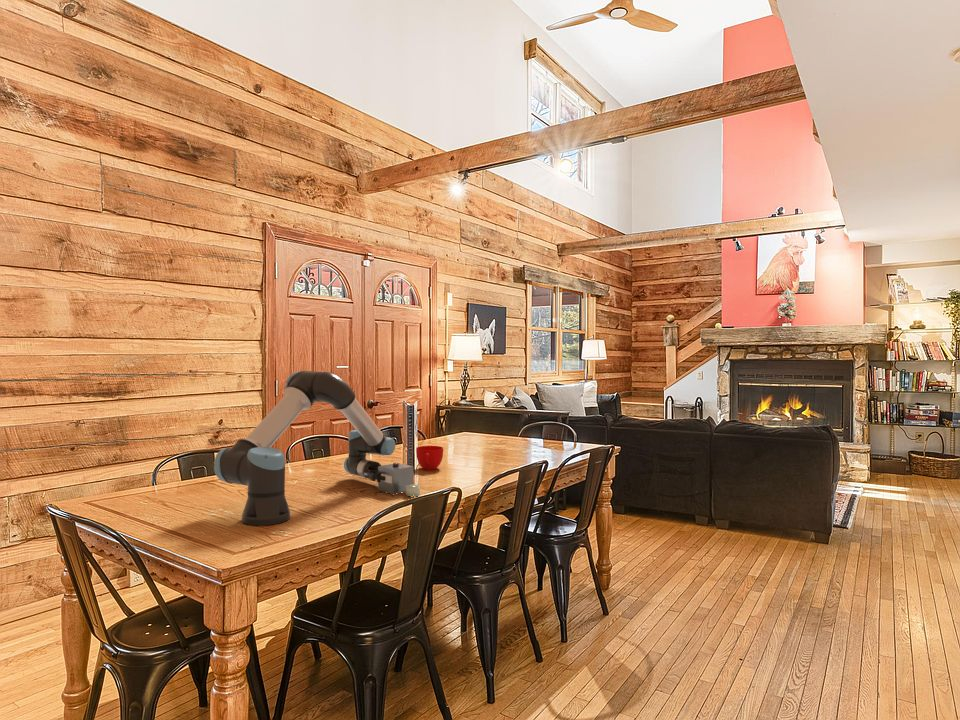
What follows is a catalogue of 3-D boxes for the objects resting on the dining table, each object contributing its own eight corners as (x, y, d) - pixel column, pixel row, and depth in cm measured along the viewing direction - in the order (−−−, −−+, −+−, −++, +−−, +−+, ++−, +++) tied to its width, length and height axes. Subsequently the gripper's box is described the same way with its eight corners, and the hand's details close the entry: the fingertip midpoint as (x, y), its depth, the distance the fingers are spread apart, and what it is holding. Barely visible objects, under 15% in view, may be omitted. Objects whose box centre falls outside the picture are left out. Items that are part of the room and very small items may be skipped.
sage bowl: (421, 497, 235) (421, 486, 234) (408, 498, 232) (408, 488, 232) (417, 493, 240) (417, 483, 240) (403, 495, 237) (403, 485, 237)
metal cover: (413, 491, 244) (413, 463, 244) (393, 495, 237) (393, 466, 237) (398, 487, 251) (398, 460, 251) (378, 490, 244) (378, 463, 244)
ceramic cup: (413, 472, 280) (413, 451, 280) (418, 465, 297) (418, 445, 297) (440, 473, 280) (441, 451, 279) (444, 466, 296) (444, 445, 296)
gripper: (391, 474, 264) (424, 483, 249) (346, 482, 249) (378, 491, 233) (391, 457, 264) (424, 464, 249) (347, 464, 248) (378, 472, 233)
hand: (402, 477), depth 241 cm, fingers closed on metal cover, 10 cm apart
